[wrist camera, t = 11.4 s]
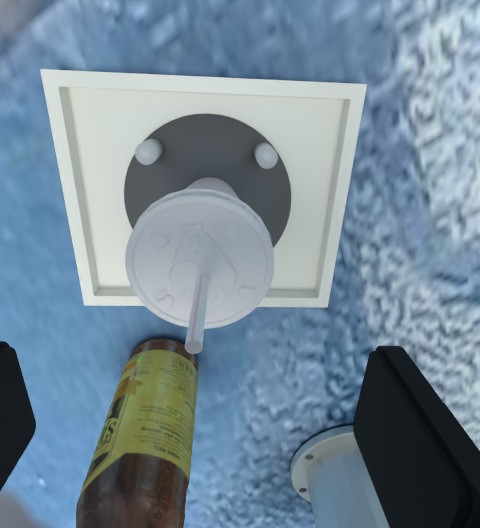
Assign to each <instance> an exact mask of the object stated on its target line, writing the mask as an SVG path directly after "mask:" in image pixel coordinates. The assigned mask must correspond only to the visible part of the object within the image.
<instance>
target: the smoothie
mask: <svg viewBox="0 0 480 528" xmlns="http://www.w3.org/2000/svg"><path fill="white" fill-rule="evenodd" d="M273 253H274V251H273V246H272V242H271V238H270V234H269V232H268V230H267V228H266V227H265V225H264V223H263V221H262V219H261V218H260V217H259V216H258V215H257V214H256V213H255V212H254V211H253V210H252V209H251V208H250V207H249V206H248V205H247V204H246V203H244V202H242V201H241V200H240V199H239V198H238V196H237V195H236V193H235V192H234V190H233V189H232V188H231V186H230V185H229V184H227V183H226V182H224V181H223V180H221V179H218V178H213V177H206V178H202V179H199V180H197V181H195V182H194V183H192V184H191V185H190V186H188V187H187V188H186V189H184V190H181V191H178V192H174V193H170V194H168V195H166V196H164V197H163V198H161V199H159V200H158V201H156V202H154V203H152V204H151V205H150V206H149V207H148V208H147V210H146V211H145V212H144V213H143V214H142V215H141V216H140V217H139V219H138V221H137V223H136V225H135V227H134V229H133V231H132V233H131V235H130V237H129V240H128V243H127V247H126V253H125V266H126V273H127V277H128V280H129V282H130V285H131V287H132V289H133V291H134V292H135V294H136V296H137V297H138V298H139V300H140V301H141V302H142V303H143V304H144V305H145V306H146V307H147V308H148V309H149V310H150V311H152V312H153V313H154V314H156V315H157V316H159V317H160V318H162V319H164V320H166V321H168V322H170V323H173V324H176V325H179V326H183V327H188V331H187V337H186V342H185V349H186V351H187V352H189V353H192V354H196V353H199V352H200V351H201V350H202V347H203V338H204V329H209V328H217V327H222V326H225V325H228V324H231V323H234V322H236V321H238V320H240V319H242V318H243V317H245V316H246V315H248V314H249V313H250V312H252V311H253V310H254V309H255V308H256V307H257V306H258V305H259V304H260V303H261V301H262V300H263V299H264V297H265V296H266V294H267V292H268V290H269V288H270V286H271V283H272V279H273V274H274V254H273Z"/></svg>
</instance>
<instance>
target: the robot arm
mask: <svg viewBox="0 0 480 528" xmlns="http://www.w3.org/2000/svg"><path fill="white" fill-rule="evenodd" d="M35 428H36V421H35V418H34V414H33V411H32V407H31V404H30V400H29V397H28V393H27V390H26V386H25V383H24V379H23V376H22V372H21V369H20V365H19V361H18V358H17V354H16V351H15V349H14V348H12V347H10V346H9V344H8V343H6V342H3V341H0V491H1V489H2V487H3V486H4V484H5V482H6V481H7V479H8V477H9V476H10V474H11V472H12V471H13V469H14V467H15V466H16V464H17V462H18V461H19V459H20V457H21V456H22V454H23V452H24V451H25V449H26V447H27V446H28V444H29V442H30V441H31V439H32V437H33V435H34V432H35ZM290 475H291V480H292V485H293V487H294V489H295V491H296V492H297V493H298V494H299V495H300V496H301V497H303V498H304V499H305V500H307V501H309V502H311V505H312V510H313V515H314V519H315V524H316V528H480V451H479V449H478V448H477V447H476V445H475V444H474V443H473V441H472V440H471V439H470V437H469V436H468V435H467V433H466V432H465V430H464V429H463V428H462V426H461V425H460V424H459V422H458V421H457V420H456V418H455V417H454V415H453V414H452V413H451V411H450V410H449V409H448V407H447V406H446V405H445V404H444V403H443V402H442V400H441V399H440V397H439V396H438V395H437V393H436V392H435V391H434V389H433V388H432V387H431V385H430V384H429V382H428V381H427V380H426V378H425V377H424V376H423V374H422V373H421V372H420V370H419V369H418V367H417V366H416V365H415V363H414V362H413V361H412V359H411V358H410V357H409V355H408V354H407V352H406V351H405V350H404V349H403V348H402V347H400V346H378V347H377V348H376V351H372V352H371V353H370V355H369V358H368V362H367V367H366V371H365V375H364V379H363V383H362V388H361V392H360V396H359V400H358V404H357V409H356V413H355V417H354V421H353V425H349V426H342V427H338V428H334V429H330V430H328V431H325V432H323V433H320V434H319V435H317V436H315V437H313V438H311V439H310V440H309V441H307V442H306V443H305V444H304V445H303V446H302V447H301V448H300V449H299V450H298V451H297V452H296V454H295V456H294V457H293V459H292V462H291V465H290Z"/></svg>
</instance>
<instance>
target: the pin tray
mask: <svg viewBox="0 0 480 528" xmlns="http://www.w3.org/2000/svg"><path fill="white" fill-rule="evenodd" d="M40 70H41V76H42V81H43V86H44V92H45V97H46V103H47V108H48V113H49V119H50V124H51V129H52V135H53V140H54V145H55V151H56V156H57V162H58V167H59V172H60V178H61V183H62V188H63V194H64V199H65V204H66V210H67V215H68V220H69V226H70V231H71V237H72V242H73V247H74V253H75V258H76V263H77V269H78V274H79V279H80V285H81V290H82V295H83V301H84V305H104V306H145V305H144V304H143V303H142V302H141V301H140V300H139V298H138V297H137V296H136V294H135V292H134V291H133V289H132V287H131V285H130V282H129V280H128V277H127V273H126V266H125V253H126V247H127V243H128V240H129V237H130V235H131V233H132V231H133V229H134V227H135V225H136V223H137V221H138V219H139V217H140V216H141V215H142V214H143V213H144V212H145V211H146V210H147V208H148V207H149V206H150V205H151V204H152V203H154V202H156V201H158V200H159V199H161V198H163V197H164V196H166V195H168V194H170V193H174V192H178V191H181V190H184V189H186V188H187V187H188V186H190V185H191V184H192V183H194V182H195V181H197V180H199V179H202V178H206V177H213V178H218V179H221V180H223V181H224V182H226V183H227V184H229V185H230V186H231V188H232V189H233V190H234V192H235V193H236V195H237V196H238V198H239V199H240V200H241V201H242V202H244V203H246V204H247V205H248V206H249V207H250V208H251V209H252V210H253V211H254V212H255V213H256V214H257V215H258V216H259V217H260V218H261V219H262V221H263V223H264V225H265V227H266V228H267V230H268V232H269V234H270V238H271V242H272V246H273V251H274V253H273V254H274V274H273V279H272V283H271V286H270V288H269V290H268V292H267V294H266V296H265V297H264V299H263V300H262V301H261V303H260V304H259V305H258V306H257V307H327V308H328V302H329V296H330V291H331V285H332V279H333V274H334V268H335V262H336V257H337V251H338V245H339V240H340V234H341V228H342V223H343V217H344V212H345V206H346V200H347V195H348V189H349V183H350V178H351V172H352V166H353V161H354V155H355V149H356V144H357V138H358V132H359V127H360V121H361V115H362V110H363V104H364V98H365V93H366V87H367V84H352V83H330V82H309V81H287V80H265V79H244V78H222V77H201V76H179V75H157V74H136V73H114V72H93V71H71V70H49V69H40Z"/></svg>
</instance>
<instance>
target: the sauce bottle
mask: <svg viewBox="0 0 480 528" xmlns="http://www.w3.org/2000/svg"><path fill="white" fill-rule="evenodd" d="M197 370H198V366H197V361H196V358H195V356H194V354H192V353H189V352H187V351H186V349H185V345H184V344H182V343H180V342H178V341H176V340H171V339H162V338H159V339H151V340H148V341H146V342H144V343H142V344H140V345H139V346H138V347H137V348H136V349H135V350H134V351H133V353H132V354H131V357H130V358H129V361H128V362H127V363H126V365H125V367H124V369H123V372H122V375H121V378H120V381H119V384H118V387H117V390H116V392H115V395H114V398H113V401H112V404H111V407H110V409H109V412H108V415H107V418H106V421H105V424H104V427H103V429H102V432H101V435H100V438H99V440H98V443H97V447H96V450H95V453H94V456H93V459H92V462H91V465H90V468H89V470H88V473H87V476H86V479H85V481H84V484H83V488H82V491H81V494H80V497H79V500H78V503H77V510H76V528H183V525H184V519H185V502H186V490H187V488H188V485H189V478H190V467H191V455H192V443H193V431H194V419H195V407H196V393H197V383H198V380H197V379H198V376H197Z"/></svg>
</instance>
